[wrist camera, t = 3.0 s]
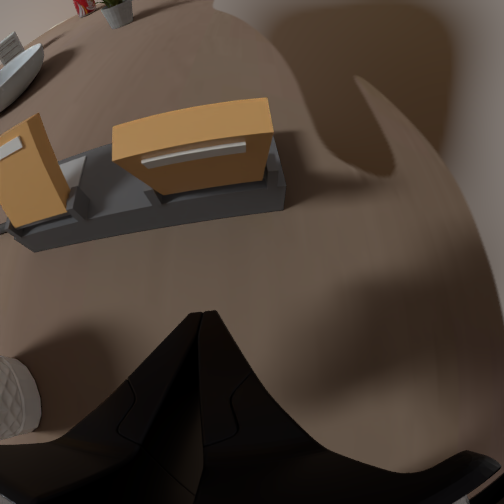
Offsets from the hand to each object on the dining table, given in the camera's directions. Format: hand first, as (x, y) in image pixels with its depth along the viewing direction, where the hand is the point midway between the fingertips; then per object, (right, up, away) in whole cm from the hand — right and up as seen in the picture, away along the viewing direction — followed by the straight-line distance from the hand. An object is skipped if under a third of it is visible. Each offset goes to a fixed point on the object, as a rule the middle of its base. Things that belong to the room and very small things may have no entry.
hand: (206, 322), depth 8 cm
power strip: (-12, +6, +12) cm, 18 cm away
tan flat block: (-14, +5, +7) cm, 17 cm away
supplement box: (-69, +58, +35) cm, 97 cm away
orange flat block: (-1, +7, +8) cm, 10 cm away
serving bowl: (-49, +36, +25) cm, 66 cm away
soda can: (-56, +86, +45) cm, 112 cm away
